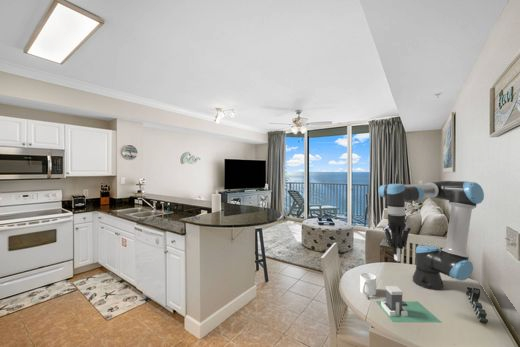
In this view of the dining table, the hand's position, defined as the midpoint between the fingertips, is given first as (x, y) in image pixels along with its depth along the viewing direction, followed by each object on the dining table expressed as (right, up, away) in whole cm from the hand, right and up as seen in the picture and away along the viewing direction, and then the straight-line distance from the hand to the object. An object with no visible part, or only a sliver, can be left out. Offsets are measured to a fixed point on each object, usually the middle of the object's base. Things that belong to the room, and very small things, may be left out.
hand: (397, 260), depth 113 cm
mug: (-9, -25, +13) cm, 29 cm away
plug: (-4, -24, -4) cm, 24 cm away
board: (+2, -25, -4) cm, 25 cm away
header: (-4, -24, -4) cm, 24 cm away
